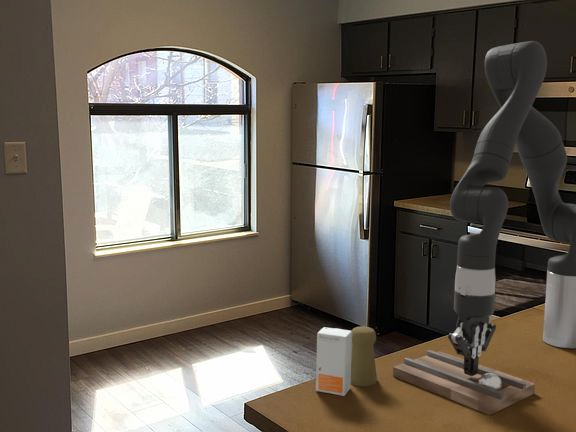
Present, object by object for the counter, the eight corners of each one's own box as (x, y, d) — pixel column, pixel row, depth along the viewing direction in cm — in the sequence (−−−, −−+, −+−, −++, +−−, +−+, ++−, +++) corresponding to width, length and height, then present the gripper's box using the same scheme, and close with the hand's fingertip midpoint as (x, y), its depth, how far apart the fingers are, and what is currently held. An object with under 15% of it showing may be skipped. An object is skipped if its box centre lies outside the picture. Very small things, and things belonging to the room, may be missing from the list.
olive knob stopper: (376, 387, 129) (377, 333, 128) (345, 384, 130) (346, 331, 129) (378, 375, 135) (379, 324, 134) (349, 373, 136) (349, 322, 135)
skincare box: (315, 391, 127) (315, 332, 125) (322, 383, 131) (323, 326, 129) (345, 397, 125) (346, 336, 123) (351, 388, 129) (352, 330, 127)
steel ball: (509, 393, 125) (489, 394, 128) (503, 370, 126) (484, 372, 129) (496, 398, 122) (476, 399, 125) (491, 374, 123) (471, 376, 126)
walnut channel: (438, 359, 144) (439, 346, 144) (534, 393, 127) (535, 378, 126) (392, 376, 135) (393, 362, 135) (489, 415, 117) (490, 399, 117)
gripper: (478, 280, 133) (474, 361, 136) (437, 290, 125) (434, 376, 128) (511, 287, 128) (506, 372, 130) (470, 298, 119) (466, 388, 122)
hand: (470, 374), depth 129 cm, fingers closed
